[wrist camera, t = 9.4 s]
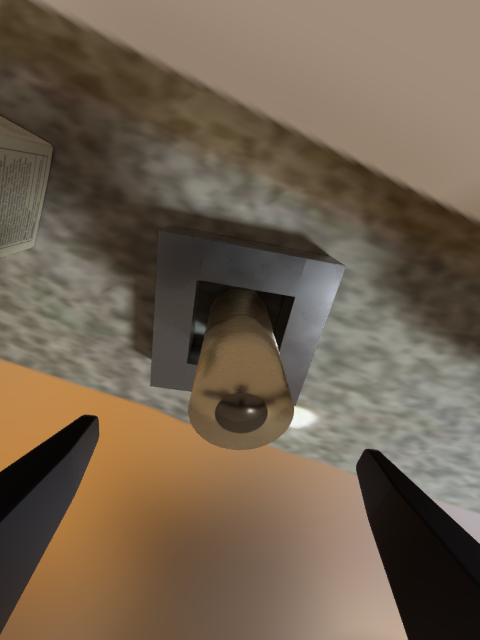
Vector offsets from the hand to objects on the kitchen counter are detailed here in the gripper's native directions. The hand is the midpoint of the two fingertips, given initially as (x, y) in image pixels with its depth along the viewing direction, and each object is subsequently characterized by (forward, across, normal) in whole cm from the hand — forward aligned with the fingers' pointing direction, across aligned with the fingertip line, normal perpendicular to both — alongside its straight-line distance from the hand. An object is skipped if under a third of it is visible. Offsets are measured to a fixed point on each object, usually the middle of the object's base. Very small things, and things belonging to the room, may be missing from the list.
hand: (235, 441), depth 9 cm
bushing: (+10, 0, 0) cm, 10 cm away
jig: (+10, 0, 0) cm, 10 cm away
